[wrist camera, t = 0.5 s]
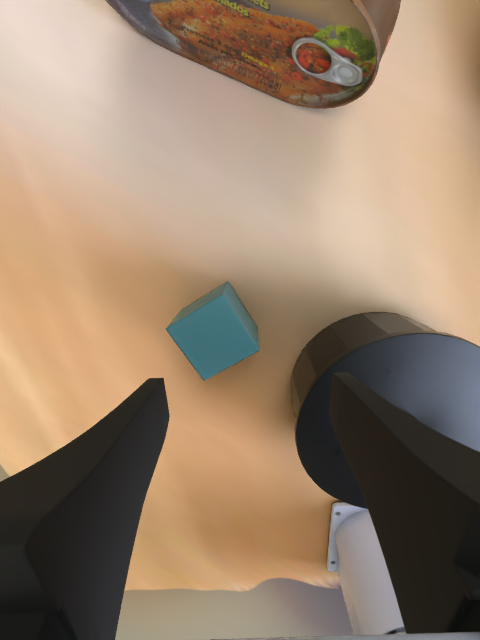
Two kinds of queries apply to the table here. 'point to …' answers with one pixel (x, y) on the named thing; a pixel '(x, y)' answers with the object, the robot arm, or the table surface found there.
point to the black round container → (343, 345)
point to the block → (215, 331)
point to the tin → (276, 42)
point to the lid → (392, 398)
